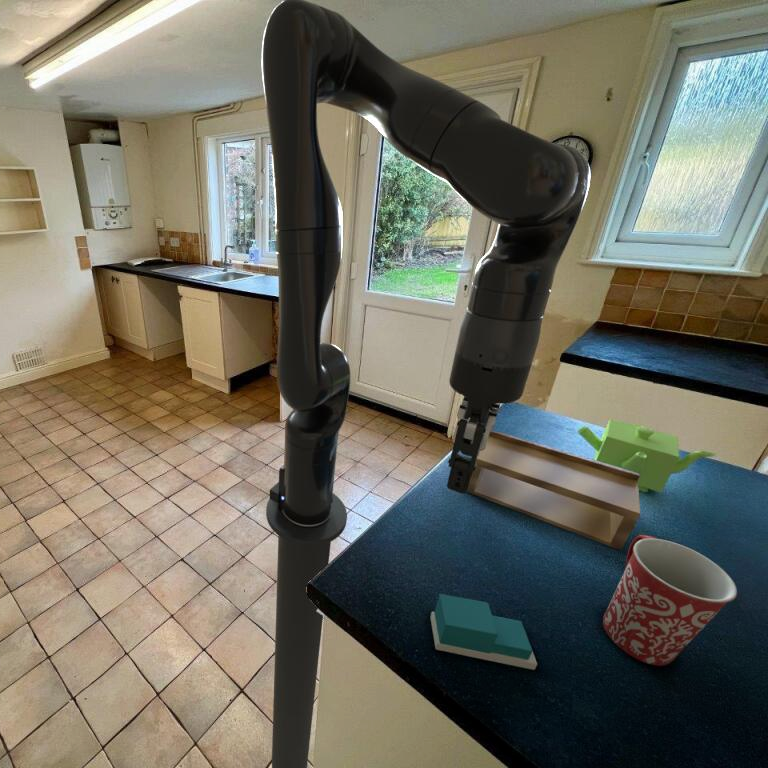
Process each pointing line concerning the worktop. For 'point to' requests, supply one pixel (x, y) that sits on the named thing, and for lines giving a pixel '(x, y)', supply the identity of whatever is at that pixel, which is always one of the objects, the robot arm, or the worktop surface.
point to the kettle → (641, 452)
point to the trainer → (479, 633)
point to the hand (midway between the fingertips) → (463, 471)
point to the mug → (664, 599)
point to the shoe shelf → (558, 488)
